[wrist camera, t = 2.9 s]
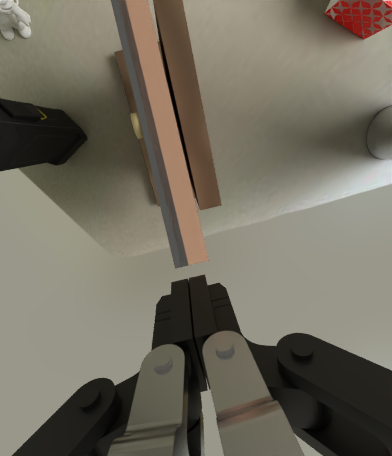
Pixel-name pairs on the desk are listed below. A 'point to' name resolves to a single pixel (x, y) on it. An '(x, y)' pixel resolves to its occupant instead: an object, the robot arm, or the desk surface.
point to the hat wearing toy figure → (13, 19)
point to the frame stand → (180, 101)
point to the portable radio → (36, 135)
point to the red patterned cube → (361, 15)
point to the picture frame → (159, 131)
